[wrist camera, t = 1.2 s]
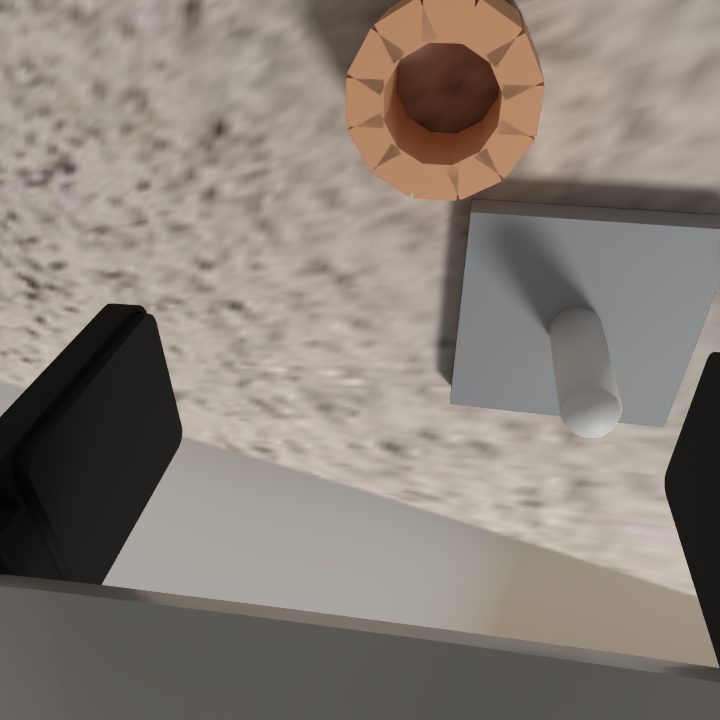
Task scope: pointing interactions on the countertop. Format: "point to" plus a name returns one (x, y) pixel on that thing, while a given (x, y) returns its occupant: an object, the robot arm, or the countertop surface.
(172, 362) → the countertop surface
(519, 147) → the ring
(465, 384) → the post block
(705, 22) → the countertop surface
